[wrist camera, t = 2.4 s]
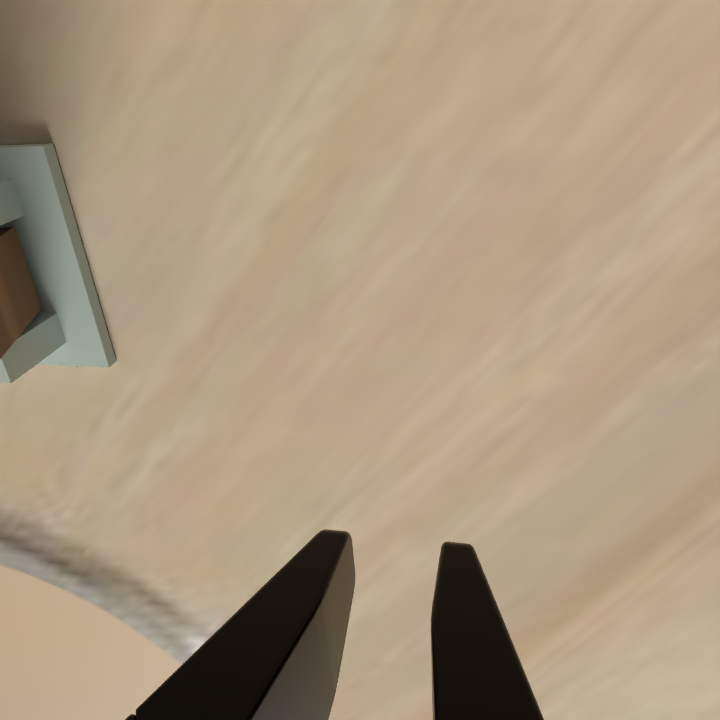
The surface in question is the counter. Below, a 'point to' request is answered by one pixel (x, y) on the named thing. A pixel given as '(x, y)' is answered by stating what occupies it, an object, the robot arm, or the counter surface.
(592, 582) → the counter surface
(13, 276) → the brown wooden post
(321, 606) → the robot arm
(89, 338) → the bracket
